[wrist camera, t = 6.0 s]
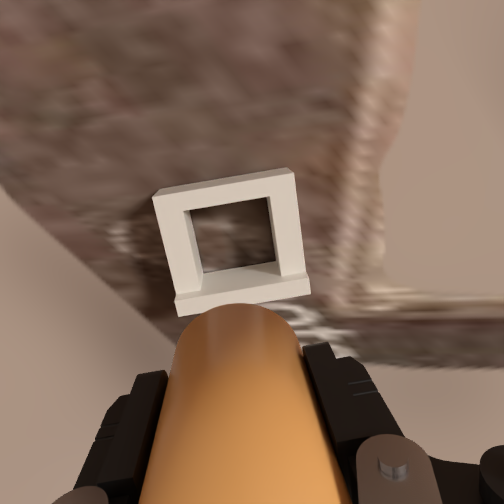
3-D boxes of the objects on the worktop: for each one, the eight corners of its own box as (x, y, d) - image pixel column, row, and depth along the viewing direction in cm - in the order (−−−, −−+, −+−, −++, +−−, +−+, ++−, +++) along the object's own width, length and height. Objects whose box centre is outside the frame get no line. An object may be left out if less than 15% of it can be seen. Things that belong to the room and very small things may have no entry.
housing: (159, 189, 27) (148, 200, 23) (286, 167, 27) (296, 174, 23) (184, 291, 29) (178, 316, 26) (299, 271, 29) (310, 293, 26)
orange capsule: (161, 315, 11) (29, 678, 4) (292, 292, 12) (417, 609, 4) (189, 422, 13) (131, 858, 5) (307, 401, 13) (425, 803, 5)
